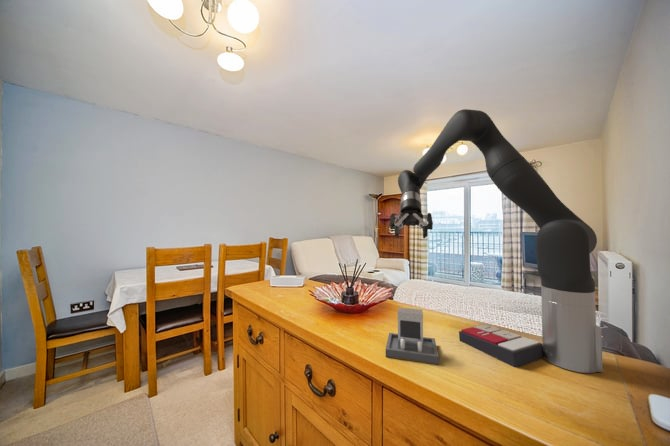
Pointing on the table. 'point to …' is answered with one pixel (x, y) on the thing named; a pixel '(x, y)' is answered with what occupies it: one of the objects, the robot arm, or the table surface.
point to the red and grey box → (502, 345)
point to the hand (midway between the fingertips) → (410, 236)
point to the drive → (410, 327)
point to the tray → (425, 356)
